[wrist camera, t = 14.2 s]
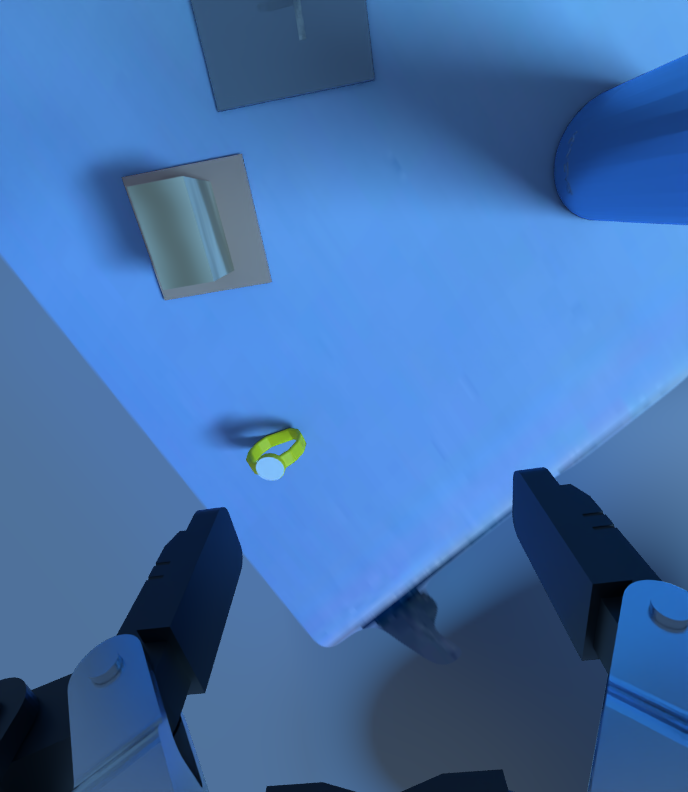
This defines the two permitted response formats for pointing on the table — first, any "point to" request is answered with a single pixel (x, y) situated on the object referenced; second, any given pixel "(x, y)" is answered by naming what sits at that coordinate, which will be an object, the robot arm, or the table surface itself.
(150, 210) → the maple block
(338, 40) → the board
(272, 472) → the watch
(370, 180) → the table surface
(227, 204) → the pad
